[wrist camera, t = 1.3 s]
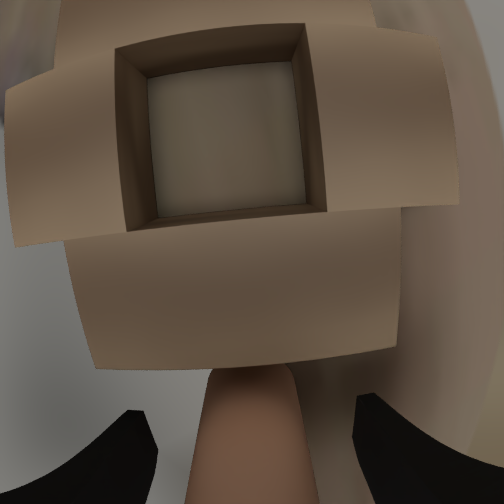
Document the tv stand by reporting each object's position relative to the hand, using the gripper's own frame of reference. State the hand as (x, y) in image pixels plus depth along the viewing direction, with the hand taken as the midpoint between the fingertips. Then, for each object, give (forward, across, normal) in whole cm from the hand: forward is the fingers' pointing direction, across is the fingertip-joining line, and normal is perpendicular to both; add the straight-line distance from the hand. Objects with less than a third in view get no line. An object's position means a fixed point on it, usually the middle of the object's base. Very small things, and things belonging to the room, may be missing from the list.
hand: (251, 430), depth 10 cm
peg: (+3, 0, 0) cm, 3 cm away
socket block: (+3, 0, -9) cm, 10 cm away
